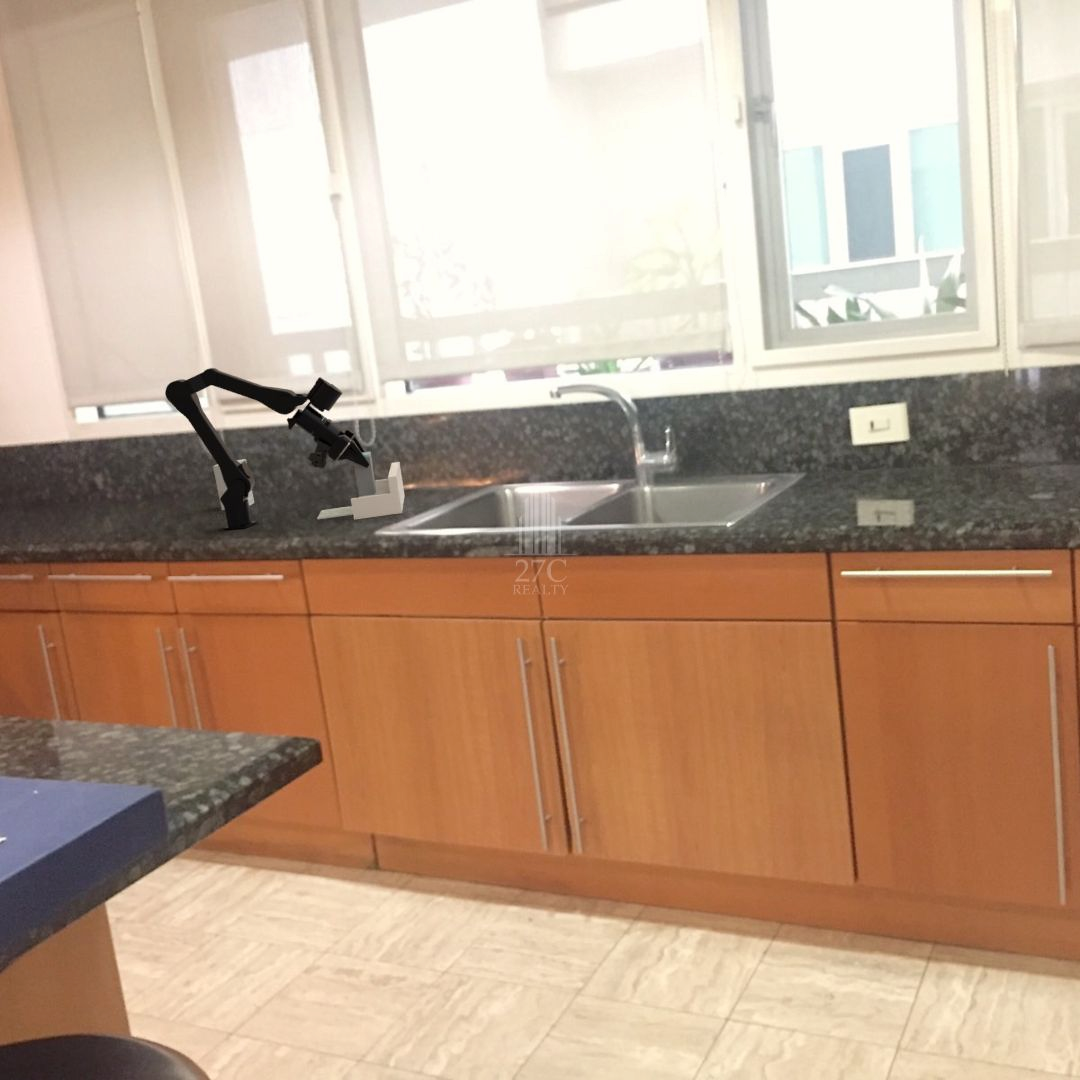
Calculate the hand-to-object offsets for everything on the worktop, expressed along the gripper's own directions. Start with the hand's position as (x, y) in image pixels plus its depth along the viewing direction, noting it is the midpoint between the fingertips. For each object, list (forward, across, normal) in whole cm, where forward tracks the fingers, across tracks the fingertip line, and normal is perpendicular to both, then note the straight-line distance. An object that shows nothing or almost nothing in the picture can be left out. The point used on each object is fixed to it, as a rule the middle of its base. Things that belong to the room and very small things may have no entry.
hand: (369, 464), depth 296 cm
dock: (+9, 0, -7) cm, 11 cm away
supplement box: (-20, -34, -36) cm, 54 cm away
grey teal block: (+4, 0, -6) cm, 7 cm away
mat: (+2, 0, -14) cm, 14 cm away
